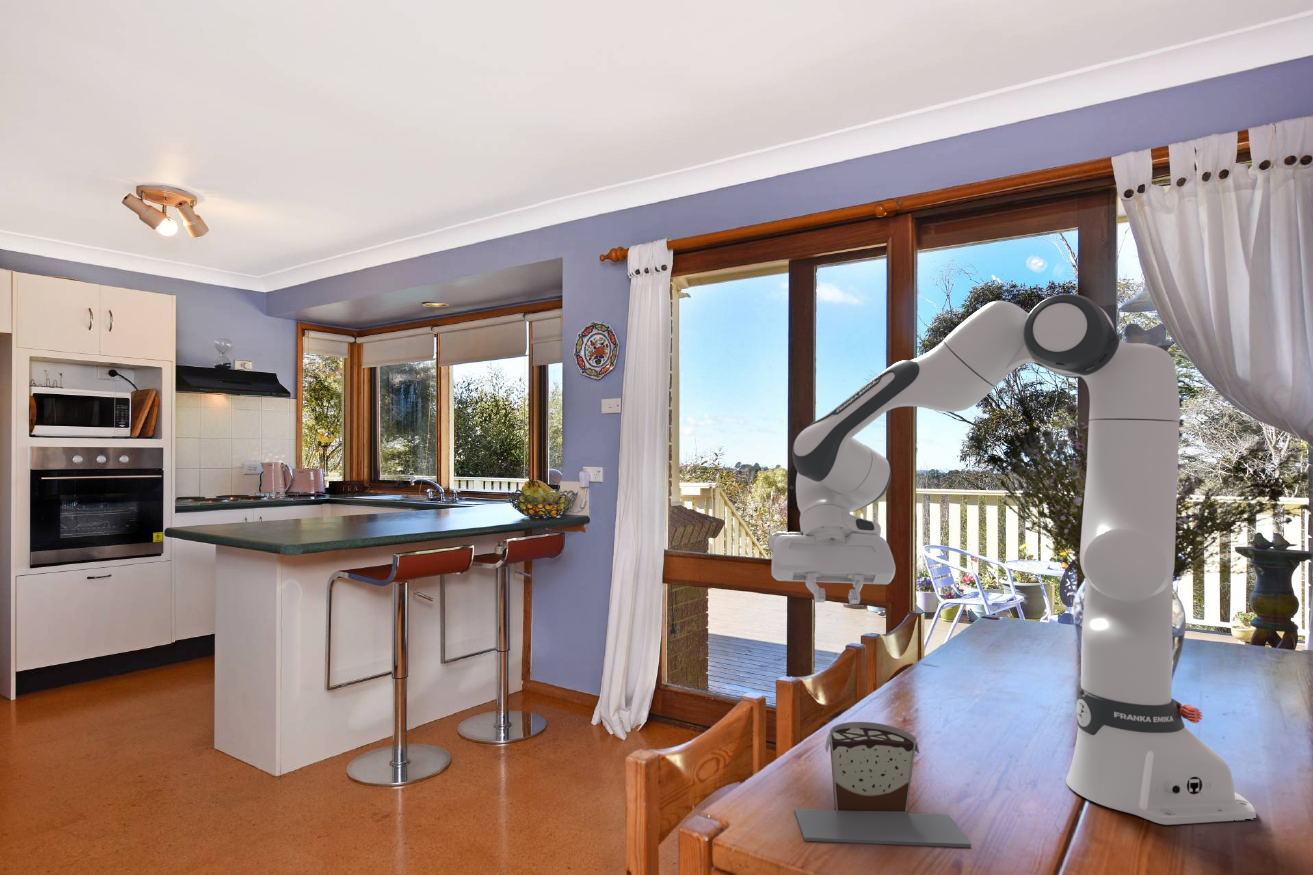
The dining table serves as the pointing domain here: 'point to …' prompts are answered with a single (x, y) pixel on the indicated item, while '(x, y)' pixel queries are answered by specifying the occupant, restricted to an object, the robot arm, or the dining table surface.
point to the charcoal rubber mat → (879, 828)
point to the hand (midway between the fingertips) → (837, 601)
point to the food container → (871, 766)
